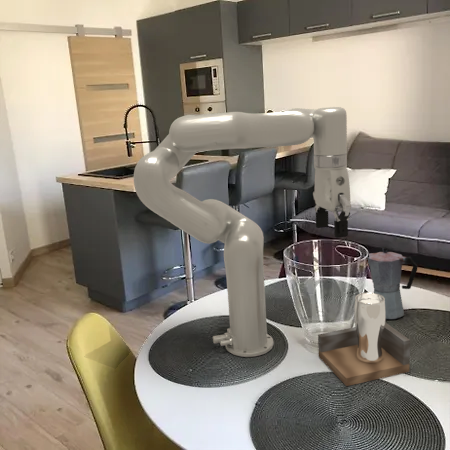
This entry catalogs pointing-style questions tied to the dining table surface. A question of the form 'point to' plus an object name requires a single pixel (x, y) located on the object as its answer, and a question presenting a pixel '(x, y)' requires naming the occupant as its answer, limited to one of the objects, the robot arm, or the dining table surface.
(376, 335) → the beer glass
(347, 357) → the wooden corner tray
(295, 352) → the dining table surface
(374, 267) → the moka pot
